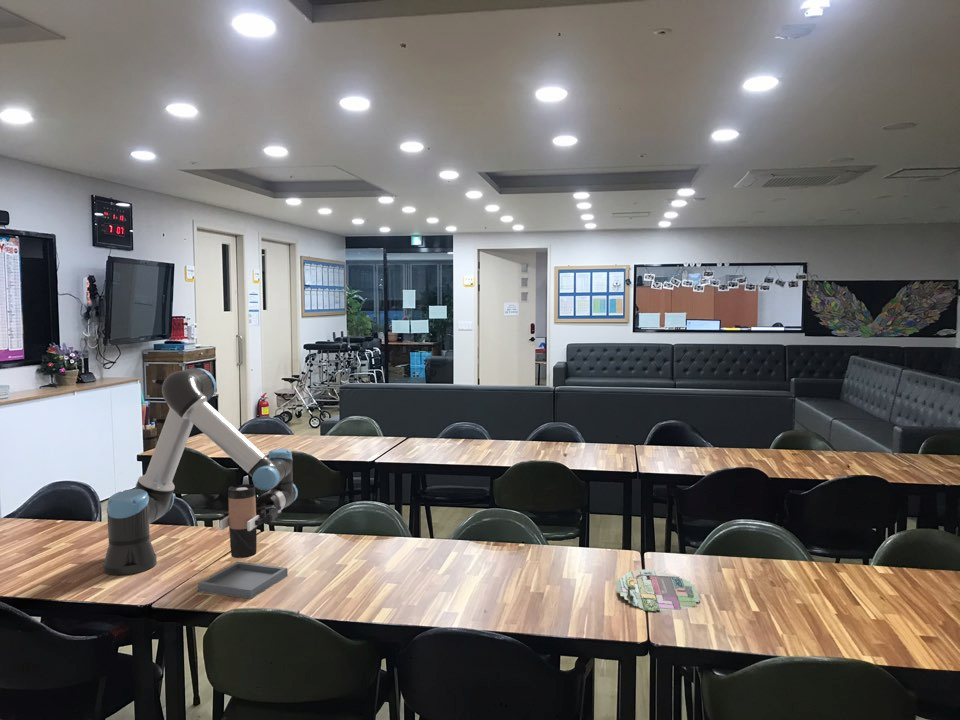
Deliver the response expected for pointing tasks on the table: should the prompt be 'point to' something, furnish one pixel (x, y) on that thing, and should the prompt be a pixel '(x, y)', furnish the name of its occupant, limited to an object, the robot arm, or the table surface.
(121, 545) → the robot arm
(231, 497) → the travel mug
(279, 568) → the slate tray
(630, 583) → the city model
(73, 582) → the table surface
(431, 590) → the table surface
